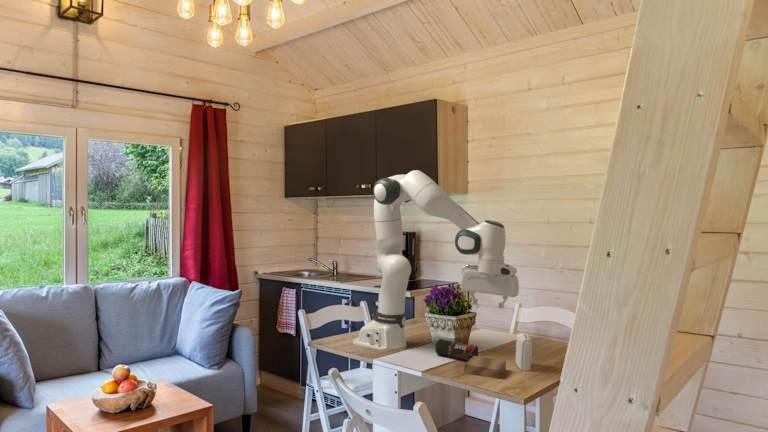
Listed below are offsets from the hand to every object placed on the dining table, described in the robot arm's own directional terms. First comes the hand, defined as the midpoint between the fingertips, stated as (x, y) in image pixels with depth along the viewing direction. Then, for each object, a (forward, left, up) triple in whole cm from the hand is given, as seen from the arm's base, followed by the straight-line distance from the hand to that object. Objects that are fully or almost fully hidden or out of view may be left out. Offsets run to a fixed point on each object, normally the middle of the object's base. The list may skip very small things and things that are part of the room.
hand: (487, 306), depth 205 cm
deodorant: (-6, +10, -21) cm, 24 cm away
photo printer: (+11, +14, -24) cm, 30 cm away
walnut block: (0, 0, -24) cm, 24 cm away
